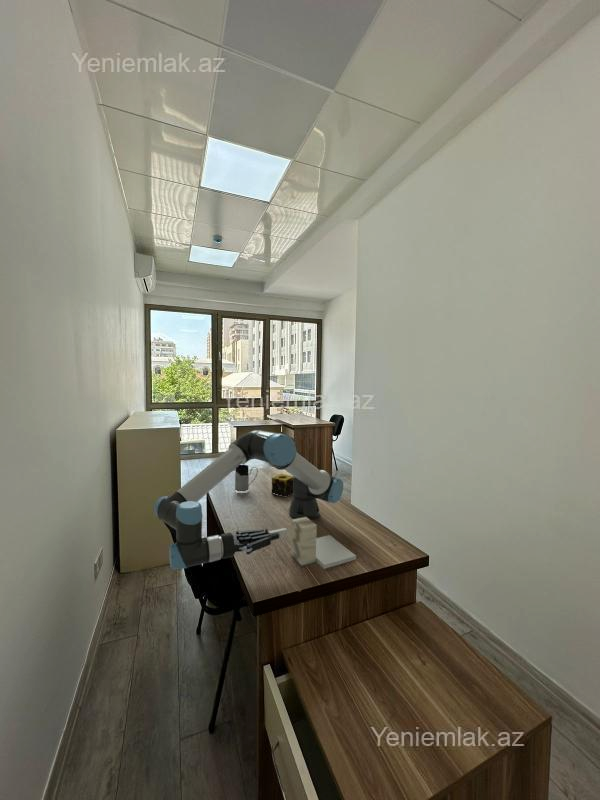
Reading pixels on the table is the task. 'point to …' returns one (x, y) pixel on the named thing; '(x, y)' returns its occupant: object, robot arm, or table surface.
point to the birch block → (304, 541)
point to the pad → (331, 552)
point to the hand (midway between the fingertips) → (285, 532)
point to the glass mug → (242, 478)
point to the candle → (282, 484)
